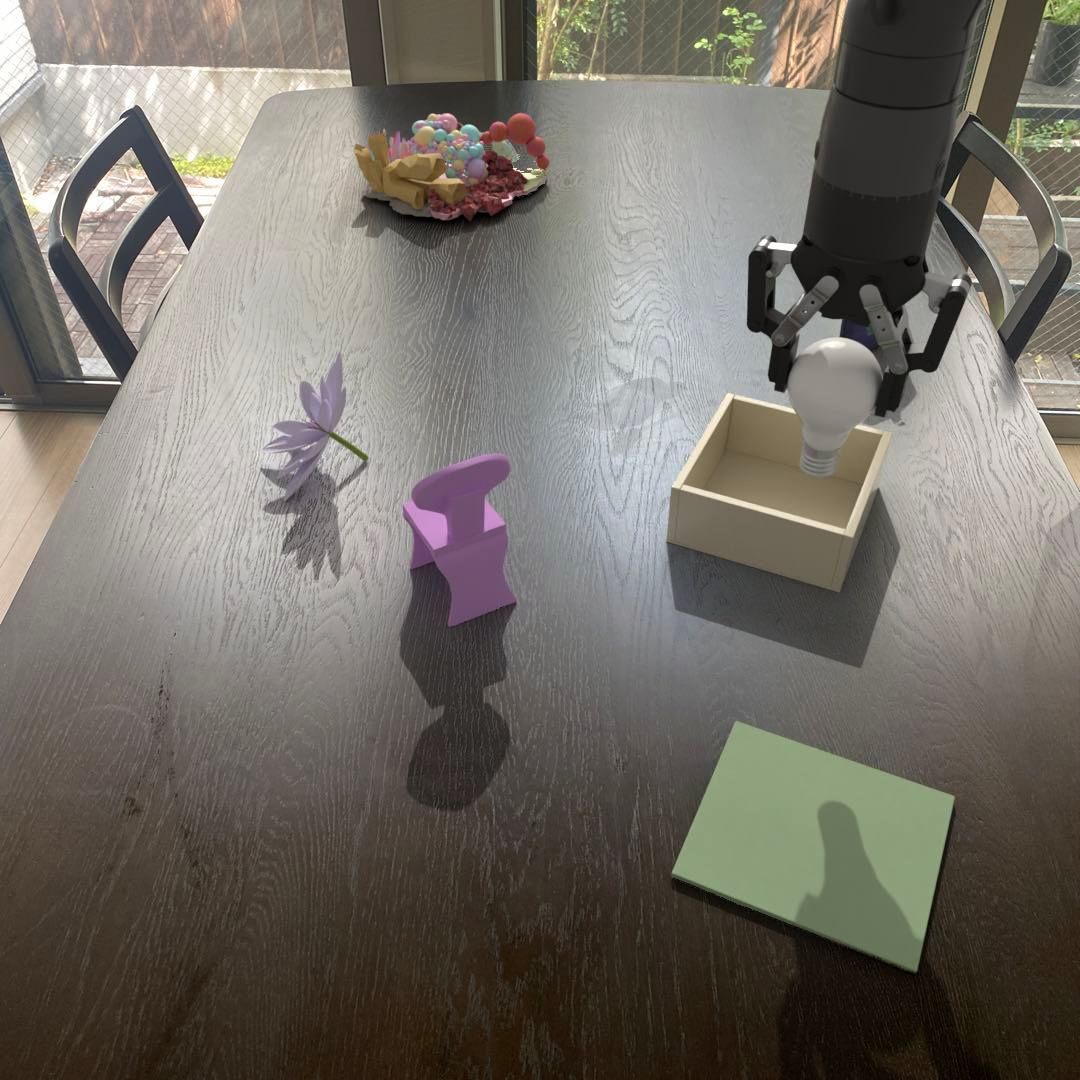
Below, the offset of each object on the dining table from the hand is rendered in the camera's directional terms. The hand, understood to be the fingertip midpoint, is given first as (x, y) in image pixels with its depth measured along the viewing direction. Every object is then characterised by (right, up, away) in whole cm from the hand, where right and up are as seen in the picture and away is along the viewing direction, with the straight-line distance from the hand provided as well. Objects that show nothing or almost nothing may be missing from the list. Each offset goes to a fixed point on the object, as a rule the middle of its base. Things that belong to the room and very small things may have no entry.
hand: (831, 397), depth 75 cm
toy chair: (-27, -14, +18) cm, 35 cm away
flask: (+16, +12, +45) cm, 49 cm away
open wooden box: (+1, -7, +24) cm, 25 cm away
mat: (-1, -30, -1) cm, 30 cm away
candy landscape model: (-33, +40, +77) cm, 93 cm away
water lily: (-42, -2, +31) cm, 52 cm away
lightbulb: (0, -5, +5) cm, 7 cm away
